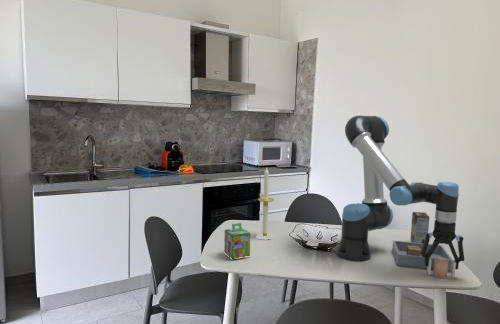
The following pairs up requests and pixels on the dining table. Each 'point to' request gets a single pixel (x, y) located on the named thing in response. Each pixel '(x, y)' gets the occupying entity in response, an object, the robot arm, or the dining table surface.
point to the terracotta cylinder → (440, 267)
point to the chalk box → (237, 242)
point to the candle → (265, 203)
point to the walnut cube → (413, 250)
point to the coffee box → (419, 227)
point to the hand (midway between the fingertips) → (440, 274)
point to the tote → (417, 261)
